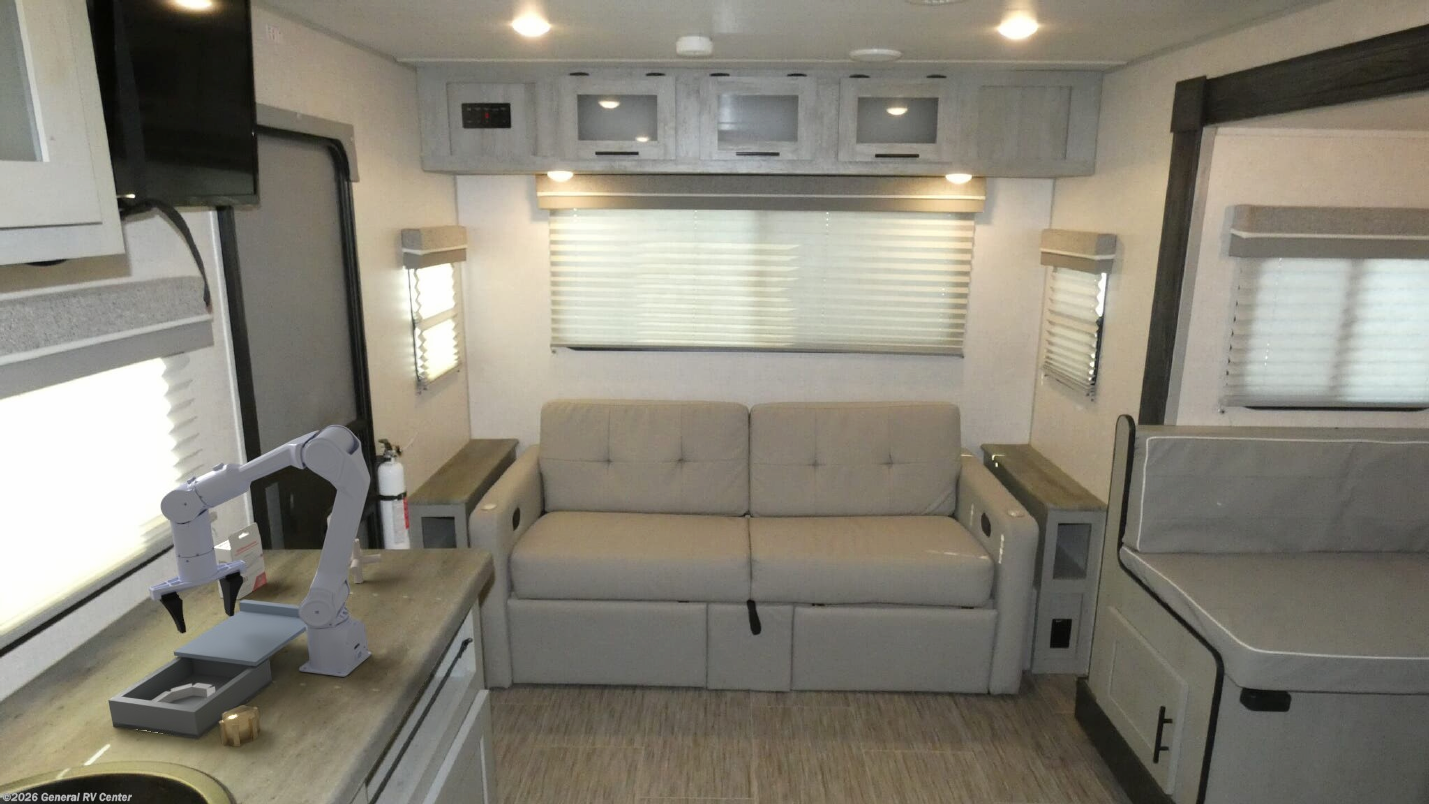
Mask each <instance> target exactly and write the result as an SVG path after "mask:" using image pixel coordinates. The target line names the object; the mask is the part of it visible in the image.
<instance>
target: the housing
mask: <svg viewBox="0 0 1429 804" xmlns="http://www.w3.org/2000/svg"><path fill="white" fill-rule="evenodd" d="M272 678H273V677H272V671H271V663H270V657H268V658H267V659H266V660H264V661H263V662H261V663H260V664H259V665H257V666H250V665H243V664H235V663H227V662H219V661H211V660H203V659H196V658H188V657H180V656H175V658H173V659H171V660H170V661H167V663H165V664H163V665H162V666H160V667H158V668H157V669H155V670H154V671H153V672H151V673H149V674H148V675H146V676H145V677H143V678H141V679H139V680H138V681H137V682H135V683H133V684H132V685H130V686H128V687H126V688H125V689H124V690H122V691H121V692H119V693H117V694H115V695H114V696H112V697H111V698H109V699H108V700H107V701H108V706H109V712H110V716H111V722H112V723H111V724H112V726H113V727H114V728H121V729H126V728H127V730H132V729H138V730H137V731H139V730H147V731H151V732H150V733H152V732H158V733H157V734H159V733H163V734H162V735H167V736H172V735H173V736H172V737H181V738H186V739H194V740H199V739H201V738H202V737H204V736H206V735H207V734H208V733H209V732H211V730H213V729H214V728H215V727H218V725H219V721H221V720H222V714H223V713H224V712H228V711H230V710H232V709H234V708H237V707H239V706H242V705H246V704H247V703H249V702H250V701H251V700H253V698H255V697H257V696H258V695H259V694H260V693H261V692H262V691H264V690H265V689H267V688H268V687H270V686H271V685H272V684H273V679H272Z"/></svg>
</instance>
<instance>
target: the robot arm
mask: <svg viewBox="0 0 1429 804" xmlns="http://www.w3.org/2000/svg"><path fill="white" fill-rule="evenodd" d="M319 431H320V430H319V429H318V430H315V431H312V432H309V433H306V434H303V435H302V436H299V437H297V438H294V439H291V440H290V441H288V442H286V443H284V444H282V445H280V446H278V447H276V448H275V449H272V450H270V451H268V452H266V453H263V454H262V455H260V456H258V457H256V458H254V459H252V460H250V461H249V462H246V463H244V464H239V463H236V462H228V463H226V464H224V462H220V463H217V464H216V465H214V466H213V467H212V471H209V472H207V473H204V474H202V475H200V476H198V477H196V476H194V475H193V476H192V477H190V478H188V479H187V480H186V481H185V482H183V483H181V484H180V485H178V486H177V487H175V488H174V489H173V490H170V491H169V492H168V493H166V495H164V497H163V498H162V500H161V501H160V510H161V511H160V512H161V513H162V515H163V516H164V517H165V518H166V519H167V521H169V523H170V528H171V529H170V530H171V534H172V535H171V536H172V541H173V542H172V543H173V549H174V553H175V560H176V566H177V573H178V575H177V576H174V577H173V578H169V579H167V580H165V581H163V582H161V583H158V584H155V585H152V586H149V587H148V591H149V592H148V593H149V597H150V599H151V600H153V601H154V602H157V601H159V602H160V603H161V604H162V605H163V606H164V608H165V609H166V610H167V612H168V613H169V616H170V617H171V618H172V620H173V622H174V624H175V626H176V630H177V631H178V632H179V633H180V634H185V633H187V627H186V621H185V618H184V608H183V607H184V600H183V599H182V598H180V595H179V594H178V593H180V592H183V591H186V590H189V589H192V588H196V587H200V586H203V585H206V584H209V583H212V582H216V581H217V580H219V582H220V585H221V589H222V593H223V598H222V599H223V607H224V612H225V615H227V616H228V617H231V616H234V614H235V610H236V609H235V608H236V604H237V595H238V593H239V590H240V588H241V586H242V584H243V577H242V576H241V575H240V574H243V573H246V572H247V569H246V563H245V562H244V561H242V560H238V561H235V562H230V563H225V564H219V565H217V562H216V555H215V548H214V547H215V544H214V536H213V531H212V525H211V518H210V513H209V510H210V509H213V508H215V507H217V506H219V505H222V504H224V503H226V502H228V501H231V500H233V499H234V498H236V497H239V496H241V495H243V494H246V493H248V491H249V489H250V487H251V483H252V482H253V481H256V480H258V479H261V478H263V477H265V476H268V475H271V474H273V473H275V472H277V471H279V470H282V469H284V468H287V467H289V466H292V467H295V468H298V469H299V470H304V469H305V468H306V467H307V468H308V469H309V470H310V471H312V472H313V473H315V474H317V476H320V477H322V478H323V479H325V480H327V481H328V482H330V484H331V485H332V486H333V487H335V489H336V495H335V499H334V503H333V506H332V510H331V514H330V518H329V522H328V526H327V530H326V533H325V537H324V538H325V539H324V542H323V546H322V549H321V554H320V557H319V558H320V559H319V562H318V566H317V570H316V573H315V575H314V577H313V579H312V582H311V583H310V587H309V590H308V593H307V595H306V596H305V597H304V598H303V600H302V601H301V602H300V604H299V616H300V618H301V620H302V621H303V622H304V623H305V625H306V631H305V632H306V640H307V641H306V642H307V649H308V657H309V660H308V661H306V662H305V663H304V664H302V665H301V666H300V667H299V668H298V670H299V672H305V673H311V674H319V675H325V676H326V675H327V676H328V675H329V676H335V677H343V678H344V677H347V676H348V675H349V674H350V673H352V672H354V670H355V669H356V668H358V666H360V665H361V664H362V663H363V662H364V661H365V660H366V659H368V658H369V657H370V656H371V655H372V652H371V651H369V648H368V646H369V645H368V638H367V636H368V635H367V628H366V624H365V623H364V622H363V621H362V620H361V619H357V618H355V617H353V616H352V615H350V611H349V609H348V607H347V606H348V605H346V601H347V600H348V598H349V596H350V594H351V593H350V592H351V586H350V583H349V575H350V569H349V562H350V558H351V557H352V551H353V547H354V543H355V539H357V534H358V531H359V527H360V523H361V519H362V515H363V512H364V507H365V503H366V500H367V497H368V492H369V488H370V484H371V476H370V473H369V469H368V467H367V463H366V461H365V458H364V453H363V451H362V442H361V440H360V439H359V438H358V437H357V436H356V435H355V434H354V433H353V432H352V430H351V429H350V428H349V427H346V426H344V425H341V424H332V425H328V426H326V427H324V428H323V429H322V430H321V431H320V433H319V434H318V432H319Z"/></svg>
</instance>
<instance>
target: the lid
mask: <svg viewBox="0 0 1429 804" xmlns="http://www.w3.org/2000/svg"><path fill="white" fill-rule="evenodd" d="M238 605H239V606H238V607H239V611H237V612H236V613H234V616H231V617H230V616H228V618H225V620H222V621H221V622H220V623H218V624H216V625H214V626H213V627H211V628H210V629H208V630H206V631H204V632H203V633H201V634H200V635H198V636H197V637H195V638H192V639H191V640H190V641H188V642H187V643H185V644H184V645H182V646H181V647H178V648H177V649H175V650H174V651H173V656H175V657H178V656H180V657H188V658H196V659H203V660H211V661H219V662H227V663H235V664H243V665H250V666H257V665H259V664H260V663H261V662H263V661H264V660H266V659H267V658H270V657H271V656H273V655H274V654H275V653H277V652H278V651H279V650H281V649H282V648H284V647H285V646H287V645H288V644H289V643H290V642H292V641H294V640H295V639H296V638H299V636H300V635H302V634H303V633H304V632H306V625H305V623H304V622H303V621H302V620H301V618H300V616H299V606H300V604H299V605H298V604H290V603H279V602H271V601H270V602H269V601H261V600H252V599H243V598H242V600H241V601H238Z"/></svg>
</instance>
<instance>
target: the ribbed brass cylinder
mask: <svg viewBox="0 0 1429 804" xmlns="http://www.w3.org/2000/svg"><path fill="white" fill-rule="evenodd" d="M258 709H259V708H258V707H257V706H254V707H253V706H249V705H246V704H244V705H242V706H239V707H237V708H234V709H232V710H230V711H228V712H224V713H223V714H222V720H221V721H219V724H218V725H219V734H220V740H221V744H222V745H223V746H226V745H228V746H231V747H234V748H236V747H241V746H242V745H244V744H247V743H249V742H251V741H255V740H256V739H258V738H259V736H258V731H261V724H260V717H259V716H260V715H259V710H258Z"/></svg>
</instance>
